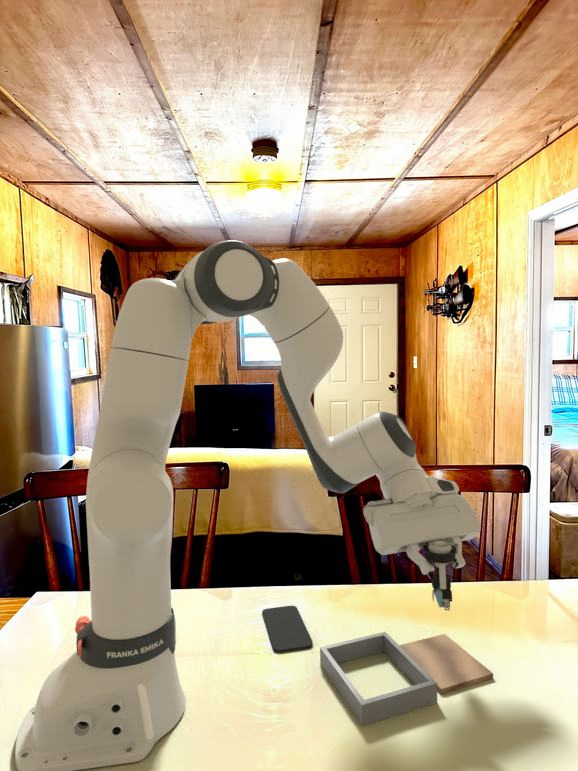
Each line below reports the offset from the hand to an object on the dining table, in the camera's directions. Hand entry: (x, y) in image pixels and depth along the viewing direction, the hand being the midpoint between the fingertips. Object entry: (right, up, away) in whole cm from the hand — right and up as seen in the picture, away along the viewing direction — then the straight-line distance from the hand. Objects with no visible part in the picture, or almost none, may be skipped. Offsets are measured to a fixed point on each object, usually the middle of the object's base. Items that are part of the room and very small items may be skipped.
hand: (445, 569), depth 78 cm
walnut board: (0, -16, +1) cm, 16 cm away
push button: (0, -6, +1) cm, 6 cm away
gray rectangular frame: (-12, -17, -3) cm, 21 cm away
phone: (-26, -17, +13) cm, 34 cm away
